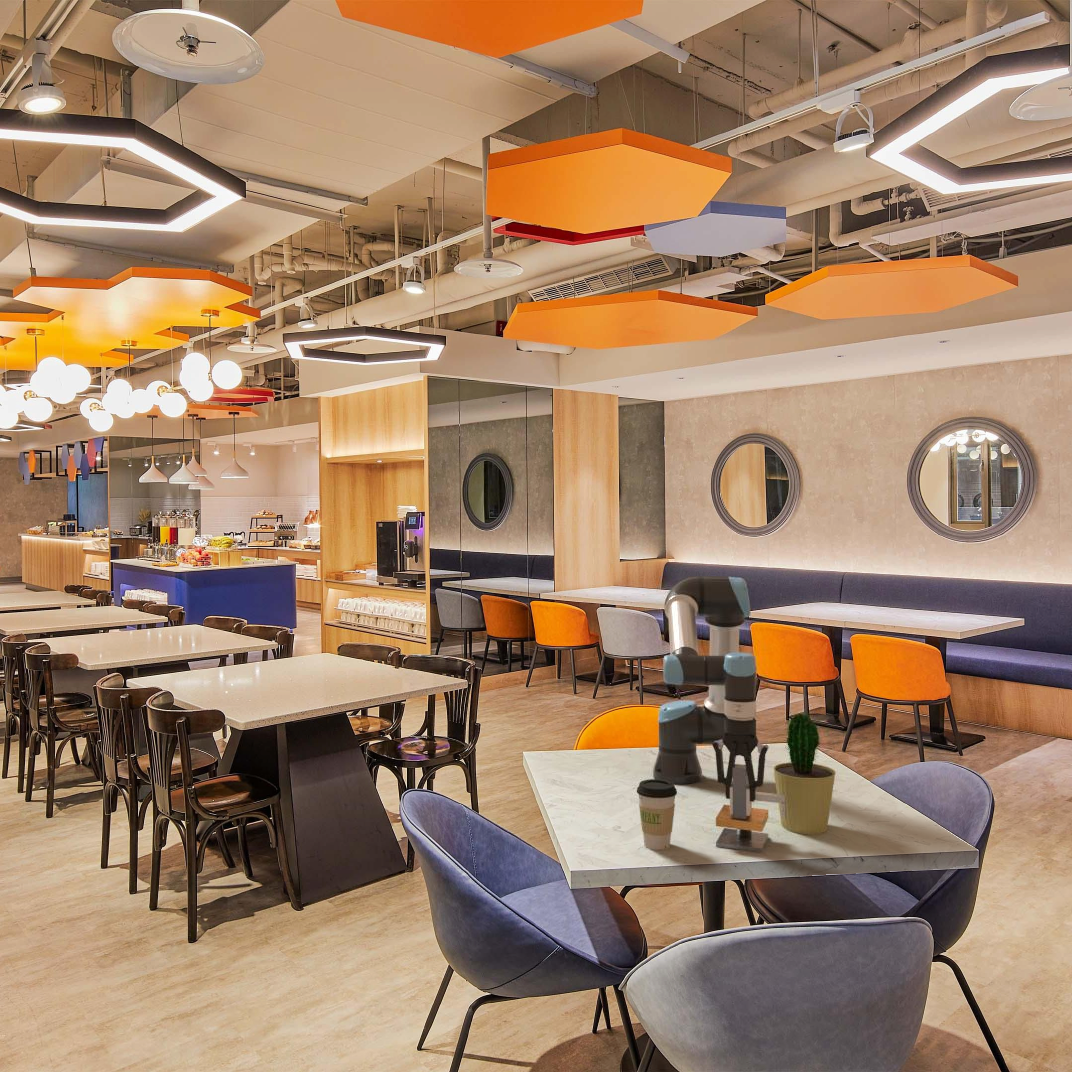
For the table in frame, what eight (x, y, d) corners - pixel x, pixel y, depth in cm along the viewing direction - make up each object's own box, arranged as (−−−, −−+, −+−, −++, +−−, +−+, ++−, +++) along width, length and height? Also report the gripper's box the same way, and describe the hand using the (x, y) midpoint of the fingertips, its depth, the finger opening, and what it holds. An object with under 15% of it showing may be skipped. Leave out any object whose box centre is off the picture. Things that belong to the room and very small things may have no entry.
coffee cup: (633, 838, 216) (632, 778, 216) (671, 837, 217) (671, 777, 217) (641, 853, 206) (641, 790, 206) (681, 852, 207) (681, 789, 207)
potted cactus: (827, 841, 213) (827, 720, 213) (765, 830, 221) (765, 713, 221) (841, 823, 226) (841, 709, 226) (783, 813, 234) (782, 703, 234)
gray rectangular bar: (735, 820, 213) (734, 763, 213) (748, 822, 211) (748, 765, 211) (732, 824, 210) (732, 767, 210) (746, 826, 208) (745, 768, 208)
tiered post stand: (715, 846, 210) (715, 793, 210) (724, 831, 220) (724, 781, 220) (781, 855, 204) (781, 800, 204) (787, 840, 214) (786, 787, 214)
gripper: (703, 717, 210) (704, 813, 210) (772, 723, 204) (772, 822, 204) (709, 711, 217) (710, 804, 217) (776, 716, 211) (776, 812, 211)
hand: (740, 812), depth 211 cm, fingers closed on gray rectangular bar, 3 cm apart
